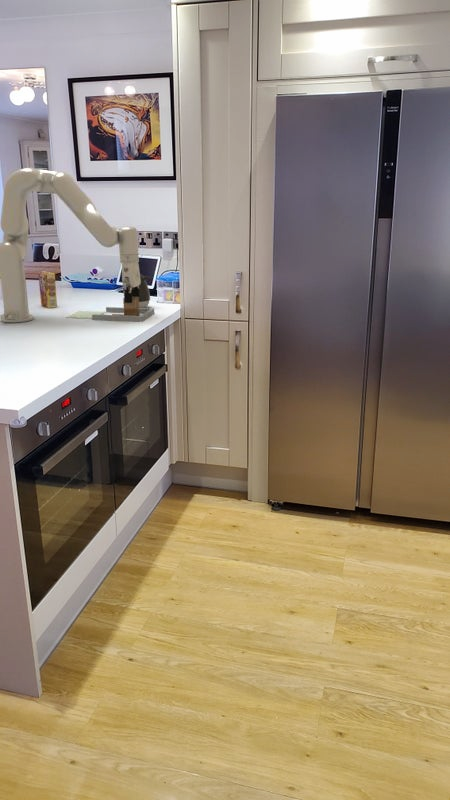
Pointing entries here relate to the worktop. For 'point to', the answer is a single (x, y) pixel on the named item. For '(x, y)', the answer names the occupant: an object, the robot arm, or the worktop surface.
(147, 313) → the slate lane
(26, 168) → the robot arm
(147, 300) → the dark grey tall ovoid
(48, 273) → the candy box
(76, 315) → the mat
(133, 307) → the walnut block
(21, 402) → the worktop surface
